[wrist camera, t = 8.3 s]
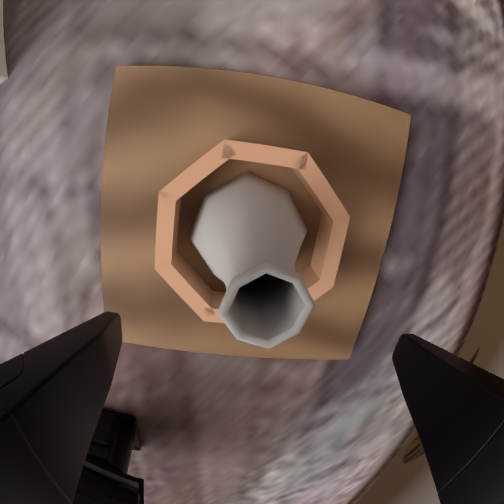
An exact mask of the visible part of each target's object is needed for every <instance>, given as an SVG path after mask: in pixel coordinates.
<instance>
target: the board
mask: <svg viewBox="0 0 504 504" xmlns="http://www.w3.org/2000/svg"><path fill="white" fill-rule="evenodd" d="M410 120H411V115H410V114H407V113H404V112H402V111H399V110H396V109H393V108H391V107H388V106H385V105H382V104H379V103H376V102H373V101H369V100H366V99H363V98H360V97H356V96H353V95H349V94H346V93H342V92H338V91H335V90H331V89H327V88H323V87H319V86H314V85H310V84H306V83H301V82H296V81H291V80H286V79H281V78H276V77H270V76H264V75H258V74H251V73H244V72H236V71H228V70H219V69H208V68H196V67H179V66H116V71H115V77H114V82H113V88H112V94H111V100H110V106H109V113H108V121H107V129H106V138H105V147H104V159H103V172H102V190H101V269H102V287H103V301H104V312H106V311H109V312H115V313H119V314H120V316H121V326H122V342H127V343H133V344H139V345H145V346H152V347H159V348H166V349H174V350H182V351H191V352H200V353H209V354H220V355H232V356H245V357H262V358H283V359H349V358H350V355H351V352H352V350H353V347H354V345H355V342H356V339H357V336H358V334H359V331H360V328H361V325H362V322H363V320H364V317H365V314H366V311H367V308H368V305H369V302H370V299H371V295H372V292H373V289H374V286H375V283H376V279H377V276H378V272H379V269H380V266H381V262H382V258H383V255H384V251H385V247H386V244H387V240H388V236H389V232H390V228H391V224H392V219H393V215H394V211H395V206H396V202H397V197H398V192H399V187H400V182H401V177H402V172H403V166H404V160H405V154H406V148H407V142H408V135H409V127H410ZM224 139H225V140H233V141H240V142H248V143H255V144H261V145H268V146H274V147H280V148H286V149H292V150H298V151H303V152H308V153H309V155H310V156H311V157H312V159H313V160H314V162H315V163H316V165H317V166H318V168H319V169H320V171H321V172H322V174H323V175H324V177H325V178H326V180H327V181H328V183H329V184H330V186H331V187H332V189H333V191H334V192H335V194H336V195H337V197H338V198H339V200H340V202H341V203H342V205H343V206H344V208H345V210H346V211H347V213H348V214H349V216H350V219H349V224H348V228H347V233H346V237H345V242H344V246H343V250H342V254H341V258H340V262H339V266H338V270H337V274H336V278H335V282H334V286H333V288H331V289H330V290H329V291H327V292H326V293H324V294H323V295H321V296H320V297H319V298H317V299H316V300H314V303H315V305H316V306H315V307H314V309H313V311H312V313H311V314H310V316H309V318H308V319H307V321H306V323H305V325H304V326H303V328H302V330H301V331H300V333H299V334H297V335H296V336H294V337H292V338H290V339H288V340H286V341H284V342H282V343H280V344H278V345H276V346H274V347H272V348H270V349H267V348H263V347H260V346H257V345H253V344H250V343H247V342H243V341H240V340H237V339H236V338H235V336H234V335H233V334H232V332H231V331H230V330H229V328H228V327H227V326H226V324H225V323H217V322H207V321H203V320H202V319H201V318H200V317H199V316H198V315H197V314H196V313H195V312H194V311H193V310H192V309H191V308H190V306H189V305H188V304H187V303H186V302H185V301H184V300H183V299H182V298H181V297H180V296H179V295H178V294H177V293H176V292H175V291H174V290H173V289H172V287H171V286H170V285H169V284H168V283H167V282H166V281H165V280H164V279H163V278H162V277H161V275H160V274H159V273H158V272H157V271H156V270H155V269H154V268H155V244H156V225H157V209H158V196H159V191H161V190H162V189H163V188H164V187H165V186H166V185H168V184H169V183H170V182H171V181H172V180H174V179H175V178H176V177H177V176H178V175H180V174H181V173H182V172H183V171H185V170H186V169H187V168H188V167H189V166H191V165H192V164H193V163H194V162H196V161H197V160H198V159H200V158H201V157H202V156H203V155H205V154H206V153H207V152H209V151H210V150H211V149H212V148H214V147H215V146H216V145H218V144H219V143H220V142H222V141H223V140H224ZM245 171H246V172H248V173H250V174H253V175H255V176H257V177H260V178H262V179H264V180H267V181H269V182H271V183H274V184H276V185H278V186H280V187H283V188H285V189H287V190H288V191H289V193H290V195H291V197H292V199H293V201H294V202H295V204H296V206H297V208H298V210H299V212H300V214H301V216H302V218H303V220H304V222H305V224H306V225H307V227H308V230H307V233H306V235H305V237H304V240H303V242H302V244H301V247H300V250H299V253H298V256H297V259H296V262H295V272H296V273H298V274H299V273H300V272H302V271H303V270H305V269H306V268H307V267H309V266H310V265H311V260H312V256H313V251H314V246H315V242H316V237H317V232H318V227H319V222H320V217H321V211H320V209H319V208H318V206H317V205H316V203H315V202H314V200H313V199H312V198H311V196H310V195H309V193H308V192H307V190H306V189H305V187H304V186H303V184H302V183H301V182H300V180H299V179H298V177H297V176H296V174H295V173H294V172H293V170H292V169H291V168H290V167H284V166H278V165H272V164H265V163H258V162H251V161H244V160H236V159H228V160H227V161H226V162H224V163H223V164H222V165H220V166H219V167H218V168H217V169H215V170H214V171H213V172H211V173H210V174H209V175H208V176H206V177H205V178H204V179H202V180H201V181H200V182H199V183H197V184H196V185H195V186H194V187H192V188H191V189H190V190H189V191H187V192H186V193H185V194H184V195H183V196H182V199H181V210H180V222H179V234H178V248H177V251H178V252H179V253H180V254H181V256H182V257H183V258H184V259H185V260H186V261H187V262H188V264H189V265H190V266H191V267H192V268H193V269H194V270H195V272H196V273H197V274H198V275H199V276H200V277H201V278H202V279H203V280H204V282H205V283H206V284H207V285H208V286H209V287H210V288H211V289H212V290H213V291H218V292H226V286H225V283H224V282H223V281H222V280H221V279H219V278H218V277H217V276H215V275H214V274H213V273H212V272H211V270H210V269H209V267H208V266H207V264H206V263H205V261H204V260H203V258H202V257H201V255H200V254H199V252H198V251H197V249H196V248H195V246H194V245H193V243H192V241H191V240H190V238H189V237H188V236H189V233H190V231H191V228H192V226H193V223H194V221H195V218H196V215H197V213H198V210H199V208H200V205H201V203H202V200H203V198H204V196H205V195H206V194H207V193H209V192H211V191H212V190H214V189H216V188H217V187H219V186H221V185H223V184H224V183H226V182H228V181H229V180H231V179H233V178H235V177H236V176H238V175H240V174H242V173H243V172H245Z"/></svg>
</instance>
